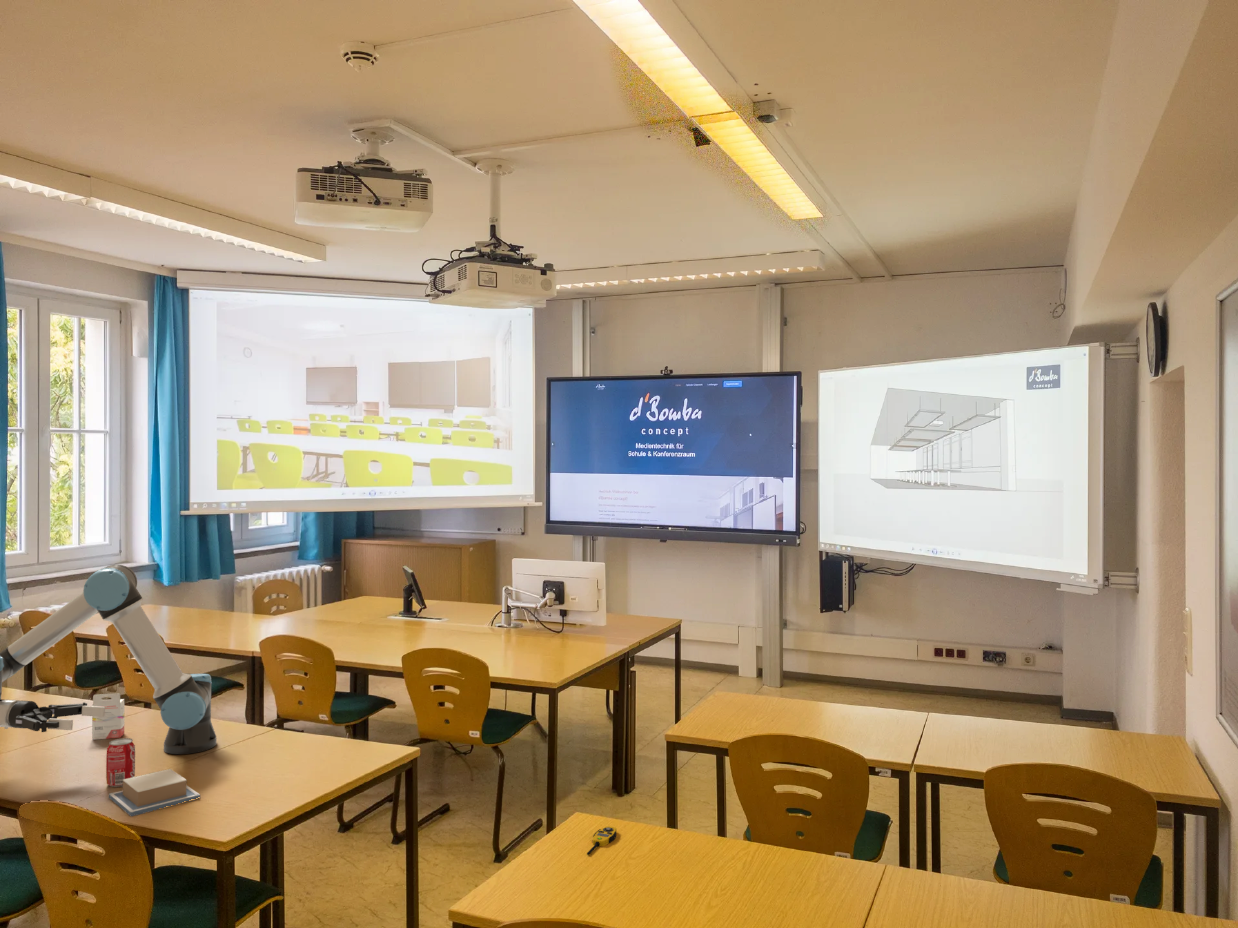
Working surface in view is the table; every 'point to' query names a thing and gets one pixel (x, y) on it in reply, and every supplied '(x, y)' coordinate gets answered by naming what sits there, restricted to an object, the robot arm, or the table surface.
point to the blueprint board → (152, 792)
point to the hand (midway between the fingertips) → (88, 718)
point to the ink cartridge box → (108, 717)
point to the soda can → (120, 761)
